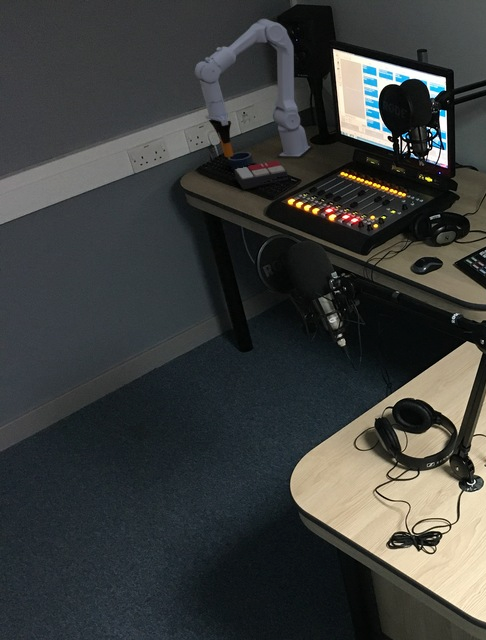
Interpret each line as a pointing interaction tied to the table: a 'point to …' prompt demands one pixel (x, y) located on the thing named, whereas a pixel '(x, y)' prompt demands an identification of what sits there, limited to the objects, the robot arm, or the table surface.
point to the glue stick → (226, 148)
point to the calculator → (259, 174)
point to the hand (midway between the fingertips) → (225, 141)
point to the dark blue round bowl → (240, 159)
